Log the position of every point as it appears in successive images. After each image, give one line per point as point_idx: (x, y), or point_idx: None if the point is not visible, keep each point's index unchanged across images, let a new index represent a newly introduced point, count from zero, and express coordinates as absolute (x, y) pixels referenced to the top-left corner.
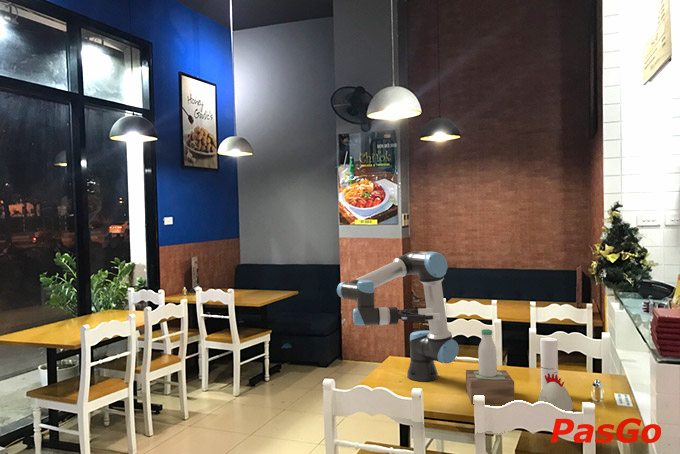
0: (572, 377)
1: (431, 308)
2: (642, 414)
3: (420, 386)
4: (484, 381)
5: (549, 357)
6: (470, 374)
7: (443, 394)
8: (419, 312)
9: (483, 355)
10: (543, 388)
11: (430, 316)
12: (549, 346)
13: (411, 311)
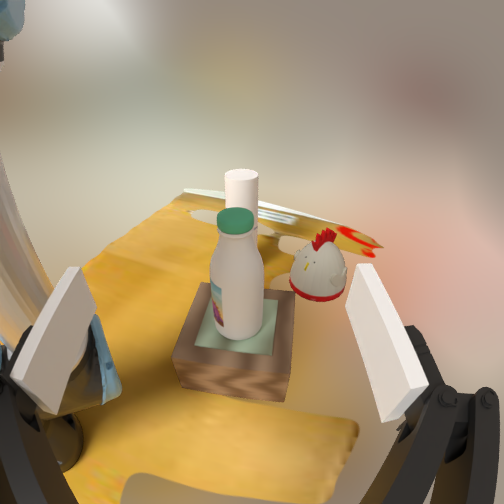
0: (171, 225)
1: (76, 273)
2: (324, 219)
3: (115, 478)
4: (288, 343)
5: (256, 207)
6: (218, 359)
7: (197, 447)
8: (47, 393)
9: (256, 292)
10: (321, 263)
11: (426, 348)
12: (257, 186)
13: (49, 492)
